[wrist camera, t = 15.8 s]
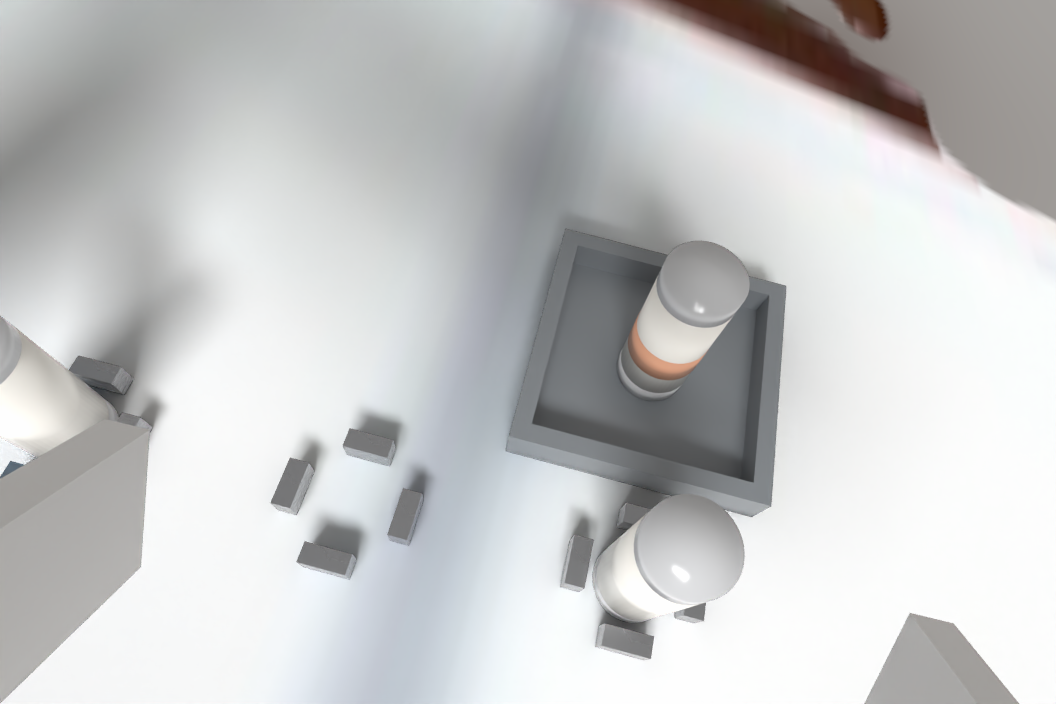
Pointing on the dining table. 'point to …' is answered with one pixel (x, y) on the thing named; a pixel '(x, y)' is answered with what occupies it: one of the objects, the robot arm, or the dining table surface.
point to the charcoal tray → (638, 425)
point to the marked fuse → (681, 318)
